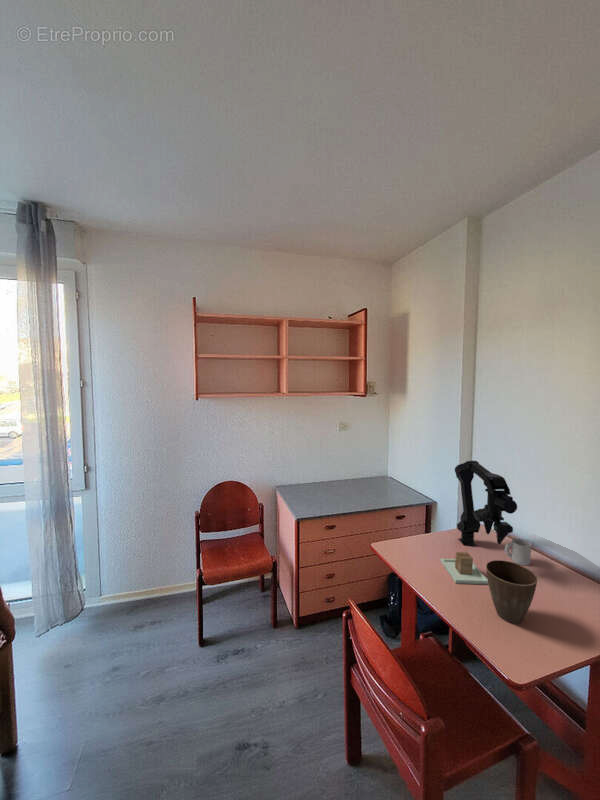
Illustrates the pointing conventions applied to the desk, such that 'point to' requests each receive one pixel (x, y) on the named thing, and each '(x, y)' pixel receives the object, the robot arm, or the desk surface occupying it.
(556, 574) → the desk surface
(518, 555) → the cup
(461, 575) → the tray
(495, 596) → the plant pot
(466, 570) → the walnut block
